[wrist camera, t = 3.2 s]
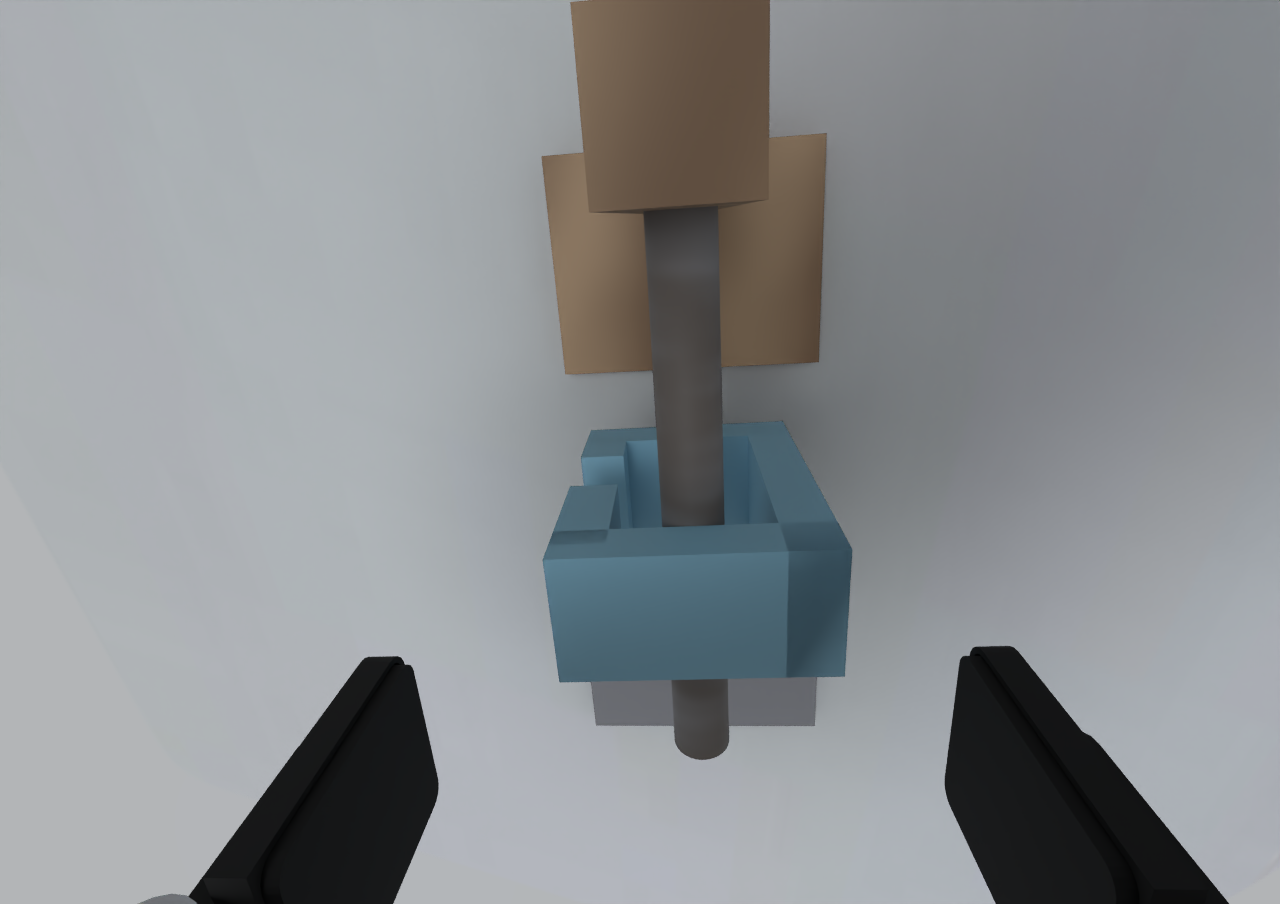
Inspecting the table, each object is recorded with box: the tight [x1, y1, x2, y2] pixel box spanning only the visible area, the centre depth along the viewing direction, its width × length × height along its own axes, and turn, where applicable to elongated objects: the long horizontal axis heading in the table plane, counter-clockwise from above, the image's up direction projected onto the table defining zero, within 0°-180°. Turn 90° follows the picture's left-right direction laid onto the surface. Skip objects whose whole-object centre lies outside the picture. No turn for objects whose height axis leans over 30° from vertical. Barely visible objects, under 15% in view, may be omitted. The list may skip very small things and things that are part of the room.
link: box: [543, 421, 852, 682], centre depth 16 cm, size 6×3×8 cm, turn 94°
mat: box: [591, 677, 817, 726], centre depth 30 cm, size 11×9×1 cm
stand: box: [542, 0, 827, 760], centre depth 18 cm, size 10×15×17 cm, turn 4°
